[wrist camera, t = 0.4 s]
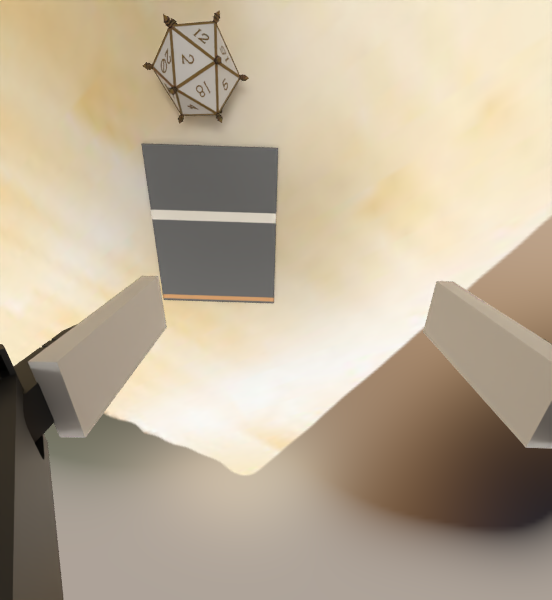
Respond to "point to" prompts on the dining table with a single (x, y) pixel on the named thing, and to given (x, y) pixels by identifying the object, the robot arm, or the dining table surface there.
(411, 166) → the dining table surface
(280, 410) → the dining table surface
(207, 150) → the lane mat
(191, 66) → the game die
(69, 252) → the dining table surface
